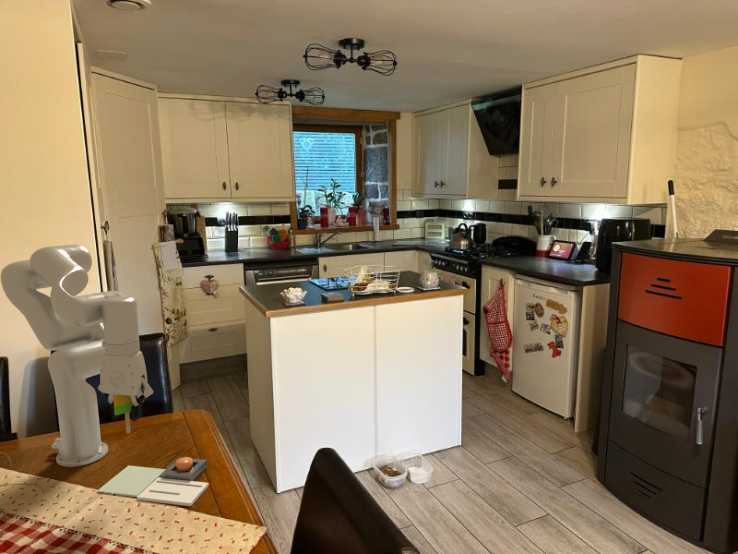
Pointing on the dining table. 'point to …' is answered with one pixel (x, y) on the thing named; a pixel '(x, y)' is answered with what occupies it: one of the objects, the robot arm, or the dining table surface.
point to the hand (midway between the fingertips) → (127, 416)
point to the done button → (184, 464)
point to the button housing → (188, 476)
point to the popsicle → (123, 408)
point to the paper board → (173, 491)
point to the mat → (132, 481)
